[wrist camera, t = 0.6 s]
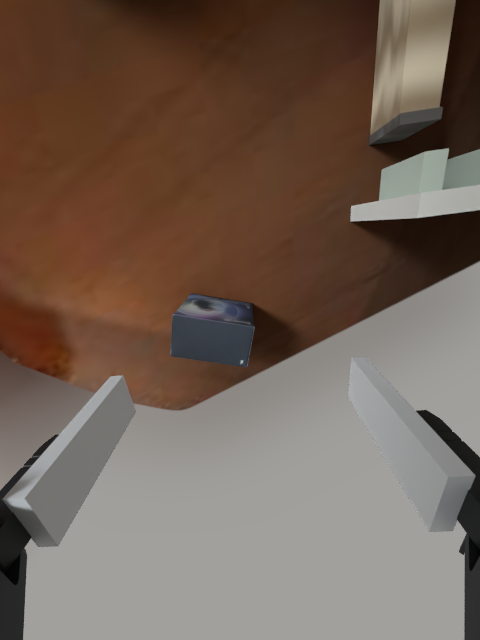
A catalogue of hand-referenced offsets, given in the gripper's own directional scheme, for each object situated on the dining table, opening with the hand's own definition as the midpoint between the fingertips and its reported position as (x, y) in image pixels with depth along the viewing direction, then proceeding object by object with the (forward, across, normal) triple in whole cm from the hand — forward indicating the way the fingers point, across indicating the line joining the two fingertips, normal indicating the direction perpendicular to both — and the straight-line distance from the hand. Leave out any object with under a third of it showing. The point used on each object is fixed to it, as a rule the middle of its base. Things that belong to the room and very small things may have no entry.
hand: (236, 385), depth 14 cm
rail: (+26, +20, +25) cm, 41 cm away
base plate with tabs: (+26, +26, +12) cm, 38 cm away
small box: (+26, -4, -5) cm, 27 cm away
